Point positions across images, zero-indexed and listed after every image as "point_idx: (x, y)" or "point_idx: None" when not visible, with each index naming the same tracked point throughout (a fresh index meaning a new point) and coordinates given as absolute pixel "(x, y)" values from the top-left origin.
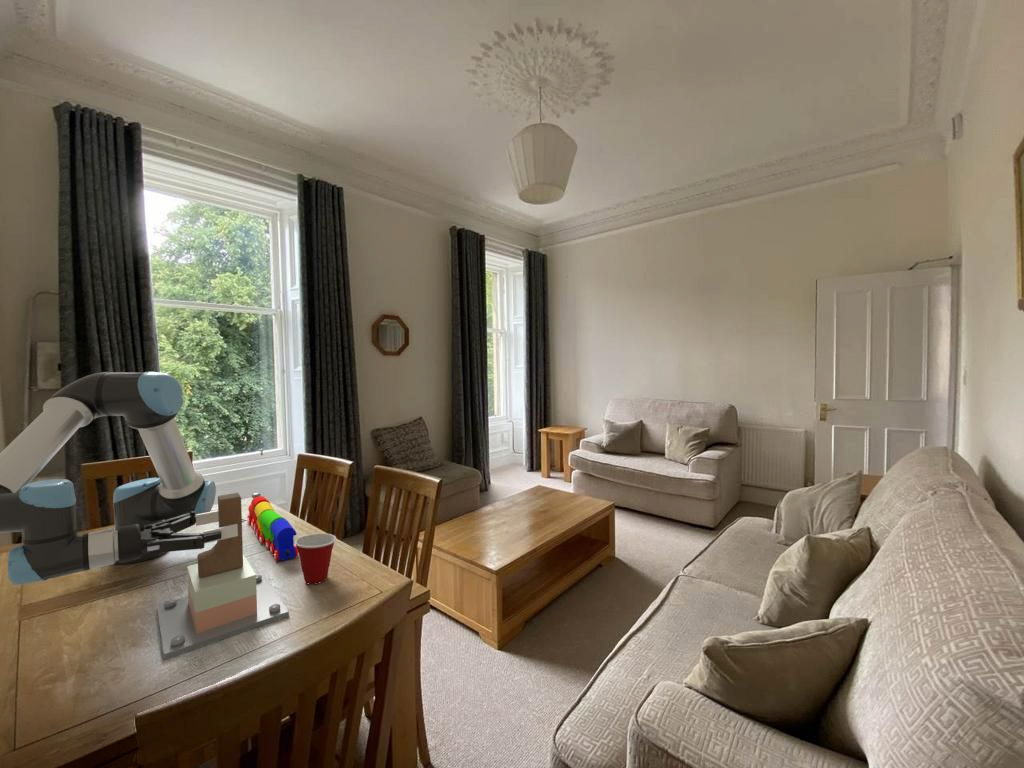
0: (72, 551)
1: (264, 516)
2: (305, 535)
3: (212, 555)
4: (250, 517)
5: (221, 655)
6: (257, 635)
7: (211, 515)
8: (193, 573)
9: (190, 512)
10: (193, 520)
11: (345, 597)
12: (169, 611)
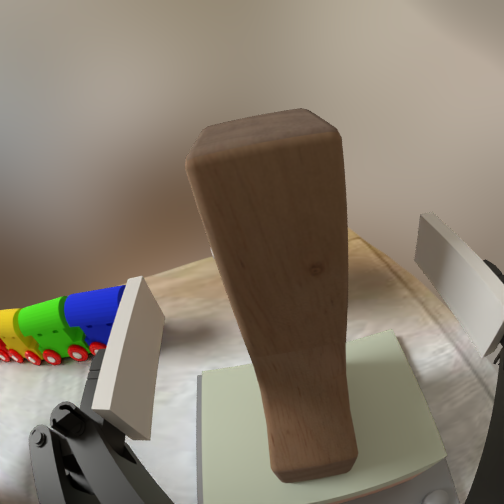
0: None
1: (29, 321)
2: (212, 253)
3: (349, 411)
4: None
5: (477, 417)
6: (436, 376)
7: (136, 345)
8: (289, 496)
9: (55, 425)
10: (113, 439)
11: (358, 271)
12: None
